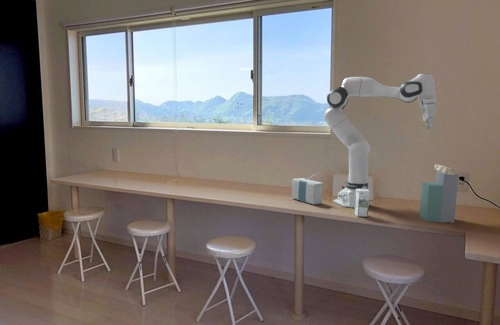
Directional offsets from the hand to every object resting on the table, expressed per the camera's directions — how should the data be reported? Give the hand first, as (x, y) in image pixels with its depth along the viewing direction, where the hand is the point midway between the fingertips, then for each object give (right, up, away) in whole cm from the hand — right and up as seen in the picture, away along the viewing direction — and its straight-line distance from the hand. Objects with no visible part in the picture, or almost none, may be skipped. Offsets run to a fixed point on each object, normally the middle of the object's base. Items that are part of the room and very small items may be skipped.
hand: (430, 127), depth 220 cm
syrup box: (-39, -48, -3) cm, 62 cm away
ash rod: (+4, -24, -7) cm, 25 cm away
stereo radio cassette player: (-63, -43, +29) cm, 82 cm away
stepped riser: (0, -49, -8) cm, 50 cm away
